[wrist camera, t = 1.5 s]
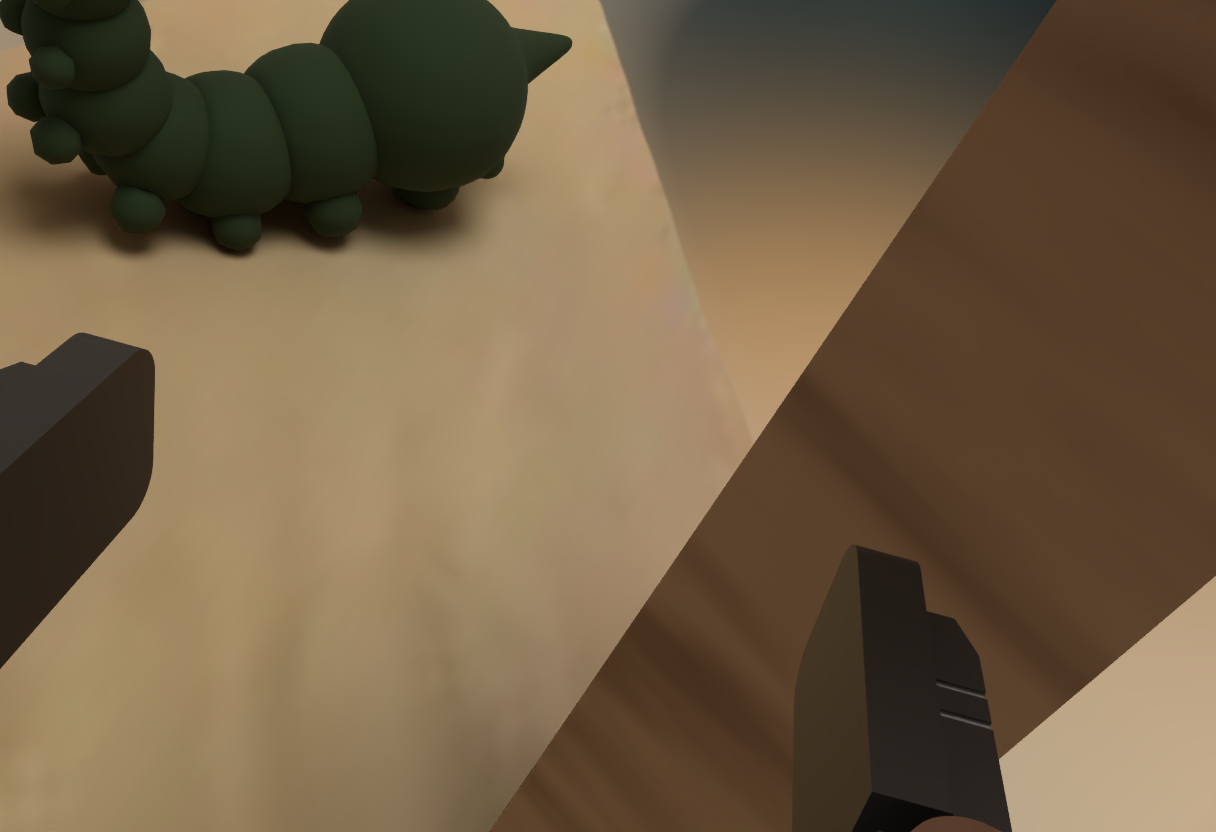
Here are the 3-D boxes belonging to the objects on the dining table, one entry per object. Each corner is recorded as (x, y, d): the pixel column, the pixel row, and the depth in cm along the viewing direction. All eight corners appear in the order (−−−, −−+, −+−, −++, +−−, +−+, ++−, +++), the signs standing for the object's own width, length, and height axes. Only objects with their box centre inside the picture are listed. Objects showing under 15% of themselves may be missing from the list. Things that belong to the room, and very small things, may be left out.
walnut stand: (627, 1159, 31) (2890, -485, 7) (399, 858, 34) (1466, -935, 11) (807, 950, 37) (2335, -294, 14) (600, 713, 41) (1546, -614, 17)
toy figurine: (63, 332, 45) (574, 236, 60) (55, -152, 32) (709, -125, 47) (-12, 181, 50) (482, 126, 64) (-46, -300, 37) (583, -234, 51)
